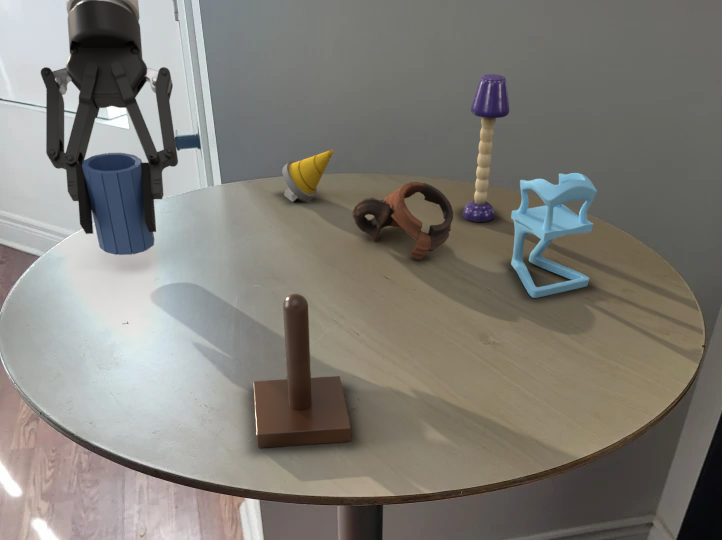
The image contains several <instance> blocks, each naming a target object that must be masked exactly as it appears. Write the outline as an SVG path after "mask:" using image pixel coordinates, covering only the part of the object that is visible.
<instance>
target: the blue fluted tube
mask: <svg viewBox="0 0 722 540" xmlns="http://www.w3.org/2000/svg"><path fill="white" fill-rule="evenodd" d="M141 163H143V161H142V159H141V158H140V157H138V156H137V155H134V154H132V153H125V152H106V153H101V154H95V155H92V156H90V157H87V158H85V159H84V162H83V165H82V168H83V172H84V176H85V181H86V186H87V190H88V195H89V200H90V204H91V209H92V220H93V223H94V227H95V231H96V236H97V237H96V238H97V241H98V246H99V248H100V249H101V250H102V251H103V252H104V253H106V254H110V255H111V254H112V255H116V256H117V255H118V256H129V255H130V256H131V255H137V254H140V253H144V252H146V251H148V250H149V249H150V248H152V247H153V246H155V235H154V232H149V230H148V228H147V225H146V223H145V213H144V199H143V186H142V169H141Z"/></svg>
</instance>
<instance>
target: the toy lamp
mask: <svg viewBox="0 0 722 540" xmlns="http://www.w3.org/2000/svg"><path fill="white" fill-rule="evenodd" d="M507 84H508V83H507V79H506V77H505V76H504V75H502V74H495V73H494V74H493V73H490V74H489V73H488V74H483V75H482V76H481V77H480V79H479V82H478V86H477V88H476V91H475V95H474V98H473V100H472V104H471V107H470V112H471V114H472V115H474V116H476V117H478V118H479V117H480V118H481V121H480V123H481V128H480V132H479V138H480V141H479V143H478V152H479V153H478V155H477V158H476V159H477V160H476V162H477V165H478V166H477V167H476V170H475V171H476V172H475V174H476V179H475V185H474V187H475V192H474V196H473V198H474V200H470V201H469V202H468V203H467V204H466V205H465V206H464V208H463V211H462V217H463V218H464V219H466V220H467V221H471V222H476V223H484V222H489V221H492V220H493V219H494V218H495V215H496V213H495V209H494V207H493V205H492V204H491V203H490V202H488V196H489V195H488V189H489V187H490V186H489V185H490V180H489V177H490V175H491V167H490V165H491V163H492V162H491V161H492V154H491V153H492V152H493V151H492V150H493V144H494V143H493V139H494V136H495V129H494V127H495V124H496V120H497V119H498V118H499V119H500V118H501V119H502V118H505V117H507V116H508V115H509V114H510V101H509V100H510V99H509V93H508V92H509V91H508V85H507Z"/></svg>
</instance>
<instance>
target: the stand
mask: <svg viewBox="0 0 722 540" xmlns="http://www.w3.org/2000/svg"><path fill="white" fill-rule="evenodd" d="M282 311H283V326H284V329H283V330H284V343H285V344H284V345H285V359H286V376H287V377H286V379H271V380H256V381H253V383H252V384H253V400H254V414H255V416H254V417H255V429H256V431H255V432H256V443H257V448H258V449H264V448H265V449H267V448H279V447H293V446H305V445H306V446H307V445H318V444H319V445H321V444H331V443H346V442H347V443H348V442H351V441H352V426H351V422H350V416H349V413H348V407H347V402H346V398H345V394H344V389H343V383H342V379H341V376H340V375H331V376H317V377H312V373H311V347H310V346H311V345H310V320H309V318H310V317H309V303H308V300H307V299H306V298H305V296H303V295H302V294H300V293H291V294H289V295H287V296H286V298H285V299H284V300H283V304H282Z"/></svg>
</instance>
